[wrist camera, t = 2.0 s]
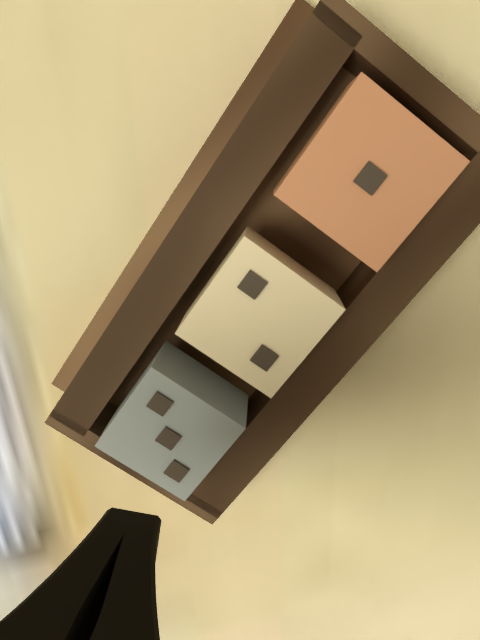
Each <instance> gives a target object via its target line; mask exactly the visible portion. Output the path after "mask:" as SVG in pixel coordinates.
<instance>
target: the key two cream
mask: <svg viewBox="0 0 480 640" xmlns="http://www.w3.org/2000/svg"><path fill="white" fill-rule="evenodd" d="M345 310H346V309H345V307H344V305H343V304H342V302H341V300H340V298H339V296H338V295H337V293H336V291H335V289H333V288H332V287H331V286H329V285H328V284H326V283H325V282H324V281H322V280H321V279H320V278H318V277H317V276H316V275H314V274H313V273H311V272H310V271H309V270H307V269H306V268H305V267H303V266H302V265H300V264H299V263H298V262H296V261H295V260H294V259H292V258H291V257H290V256H288V255H287V254H285V253H284V252H283V251H281V250H280V249H279V248H277V247H276V246H274V245H273V244H272V243H270V242H269V241H268V240H266V239H265V238H264V237H262V236H261V235H259V234H258V233H257V232H255V231H254V230H253V229H251V228H250V227H248V226H247V227H246V229H245V230H244V231H243V233H242V234H241V236H240V237H239V239H238V240H237V241H236V243H235V244H234V246H233V247H232V248H231V250H230V251H229V253H228V254H227V255H226V257H225V258H224V260H223V261H222V262H221V264H220V265H219V267H218V268H217V270H216V271H215V272H214V274H213V275H212V277H211V278H210V279H209V281H208V282H207V284H206V285H205V286H204V288H203V289H202V291H201V292H200V293H199V295H198V296H197V298H196V299H195V300H194V302H193V303H192V305H191V306H190V308H189V309H188V310H187V312H186V314H185V316H184V317H183V319H182V321H181V323H180V325H179V327H178V329H177V330H176V332H175V334H176V335H177V336H179V337H180V338H182V339H183V340H185V341H186V342H188V343H189V344H190V345H192V346H193V347H195V348H196V349H198V350H199V351H201V352H202V353H204V354H205V355H207V356H208V357H210V358H211V359H213V360H214V361H216V362H217V363H219V364H220V365H222V366H223V367H225V368H226V369H228V370H229V371H231V372H232V373H234V374H235V375H237V376H238V377H240V378H241V379H243V380H244V381H246V382H247V383H249V384H250V385H252V386H253V387H255V388H256V389H258V390H259V391H261V392H262V393H264V394H265V395H267V396H268V397H270V398H272V397H273V396H274V394H275V393H276V392H277V391H278V390H279V389H280V387H281V386H282V385H283V384H284V383H285V381H286V380H287V379H288V378H289V377H290V375H291V374H292V373H293V372H294V371H295V369H296V368H297V367H298V366H299V365H300V364H301V362H302V361H303V360H304V359H305V358H306V356H307V355H308V354H309V353H310V352H311V350H312V349H313V348H314V347H315V346H316V344H317V343H318V342H319V341H320V340H321V339H322V337H323V336H324V335H325V334H326V333H327V331H328V330H329V329H330V328H331V327H332V325H333V324H334V323H335V322H336V321H337V319H338V318H339V317H340V316H341V315H342V314H343V312H344V311H345Z"/></svg>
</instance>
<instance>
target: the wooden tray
mask: <svg viewBox="0 0 480 640" xmlns="http://www.w3.org/2000/svg"><path fill="white" fill-rule="evenodd" d="M361 72H363V73H364V74H365V75H366V76H368V77H369V78H370V79H371V80H372V81H374V82H375V83H376V84H377V85H378V86H380V87H381V88H382V89H383V90H385V91H386V92H387V93H388V94H389V95H391V96H392V97H393V98H394V99H395V100H397V101H398V102H399V103H400V104H401V105H403V106H404V107H405V108H406V109H407V110H409V111H410V112H411V113H412V114H414V115H415V116H416V117H417V118H418V119H420V120H421V121H422V122H423V123H424V124H426V125H427V126H428V127H429V128H430V129H432V130H433V131H434V132H435V133H437V134H438V135H439V136H440V137H441V138H443V139H444V140H445V141H446V142H447V143H449V144H450V145H451V146H452V147H453V148H455V149H456V150H457V151H458V152H459V153H461V154H462V155H463V156H464V157H466V158H467V159H468V160H469V161H470V162H469V164H468V165H467V166H466V167H465V168H464V170H463V171H462V172H461V173H460V174H459V176H458V177H457V178H456V179H455V180H454V181H453V183H452V184H451V185H450V186H449V187H448V189H447V190H446V191H445V192H444V193H443V195H442V196H441V197H440V198H439V199H438V201H437V202H436V203H435V204H434V205H433V206H432V208H431V209H430V210H429V211H428V212H427V214H426V215H425V216H424V217H423V218H422V220H421V221H420V222H419V223H418V224H417V225H416V227H415V228H414V229H413V230H412V231H411V233H410V234H409V235H408V236H407V237H406V239H405V240H404V241H403V242H402V243H401V245H400V246H399V247H398V248H397V249H396V250H395V252H394V253H393V254H392V255H391V256H390V258H389V259H388V260H387V261H386V262H385V264H384V265H383V266H382V267H381V268H380V270H379V271H378V272H376V271H374V270H373V269H372V268H370V267H369V266H368V265H366V264H365V263H364V262H362V261H361V260H360V259H358V258H357V257H356V256H354V255H353V254H352V253H350V252H349V251H348V250H346V249H345V248H344V247H342V246H341V245H340V244H338V243H337V242H336V241H334V240H333V239H332V238H330V237H329V236H328V235H326V234H325V233H324V232H322V231H321V230H320V229H318V228H317V227H316V226H314V225H313V224H312V223H310V222H309V221H308V220H306V219H305V218H304V217H302V216H301V215H300V214H298V213H297V212H296V211H294V210H293V209H292V208H290V207H289V206H288V205H286V204H285V203H284V202H282V201H281V200H280V199H278V198H277V197H276V196H274V194H273V189H274V188H275V186H276V185H277V184H278V182H279V181H280V179H281V178H282V177H283V175H284V174H285V172H286V171H287V170H288V168H289V167H290V165H291V164H292V162H293V161H294V160H295V158H296V157H297V155H298V154H299V153H300V151H301V150H302V148H303V147H304V146H305V144H306V143H307V141H308V140H309V139H310V137H311V136H312V134H313V133H314V131H315V130H316V129H317V127H318V126H319V124H320V123H321V122H322V120H323V119H324V117H325V116H326V115H327V113H328V112H329V110H330V109H331V108H332V106H333V105H334V103H335V102H336V100H337V99H338V98H339V96H340V95H341V93H342V92H343V91H344V89H345V88H346V86H347V85H348V84H350V83H351V82H352V81H353V80H354V79H355V78H356V77H357V76H358V75H359V74H360V73H361ZM479 224H480V115H479V114H478V113H477V112H475V111H474V110H473V109H472V108H471V107H470V106H468V105H467V104H466V103H465V102H464V101H463V100H461V99H460V98H459V97H458V96H457V95H455V94H454V93H453V92H452V91H451V90H450V89H448V88H447V87H446V86H445V85H444V84H443V83H441V82H440V81H439V80H438V79H437V78H435V77H434V76H433V75H432V74H431V73H430V72H428V71H427V70H426V69H425V68H424V67H423V66H421V65H420V64H419V63H418V62H417V61H415V60H414V59H413V58H412V57H411V56H410V55H408V54H407V53H406V52H405V51H404V50H403V49H401V48H400V47H399V46H398V45H397V44H395V43H394V42H393V41H392V40H391V39H390V38H388V37H387V36H386V35H385V34H384V33H383V32H381V31H380V30H379V29H378V28H377V27H375V26H374V25H373V24H372V23H371V22H370V21H368V20H367V19H366V18H365V17H364V16H363V15H361V14H360V13H359V12H358V11H357V10H355V9H354V8H353V7H352V6H351V5H350V4H348V3H347V2H346V1H345V0H320V1H319V3H318V4H317V6H316V8H315V9H314V8H313V7H312V6H310V5H309V4H308V3H307V2H306V1H304V0H295V2H294V3H293V5H292V6H291V8H290V10H289V11H288V13H287V14H286V16H285V17H284V19H283V21H282V22H281V24H280V25H279V27H278V28H277V30H276V32H275V33H274V35H273V36H272V38H271V39H270V41H269V43H268V44H267V46H266V47H265V49H264V50H263V52H262V54H261V55H260V57H259V58H258V60H257V61H256V63H255V65H254V66H253V68H252V69H251V71H250V72H249V74H248V76H247V77H246V79H245V80H244V82H243V83H242V85H241V87H240V88H239V90H238V91H237V93H236V94H235V96H234V98H233V99H232V101H231V102H230V104H229V105H228V107H227V109H226V110H225V112H224V113H223V115H222V116H221V118H220V120H219V121H218V123H217V124H216V126H215V127H214V129H213V131H212V132H211V134H210V135H209V137H208V138H207V140H206V142H205V143H204V145H203V146H202V148H201V149H200V151H199V153H198V154H197V156H196V157H195V159H194V160H193V162H192V164H191V165H190V167H189V168H188V170H187V171H186V173H185V175H184V176H183V178H182V179H181V181H180V182H179V184H178V186H177V187H176V189H175V190H174V192H173V193H172V195H171V197H170V198H169V200H168V201H167V203H166V204H165V206H164V208H163V209H162V211H161V212H160V214H159V216H158V217H157V219H156V220H155V222H154V223H153V225H152V227H151V228H150V230H149V231H148V233H147V234H146V236H145V238H144V239H143V241H142V242H141V244H140V245H139V247H138V249H137V250H136V252H135V253H134V255H133V256H132V258H131V260H130V261H129V263H128V264H127V266H126V267H125V269H124V271H123V272H122V274H121V275H120V277H119V278H118V280H117V282H116V283H115V285H114V286H113V288H112V289H111V291H110V293H109V294H108V296H107V297H106V299H105V300H104V302H103V304H102V305H101V307H100V308H99V310H98V311H97V313H96V315H95V316H94V318H93V319H92V321H91V322H90V324H89V326H88V327H87V329H86V330H85V332H84V333H83V335H82V337H81V338H80V340H79V341H78V343H77V344H76V346H75V348H74V349H73V351H72V352H71V354H70V355H69V357H68V359H67V360H66V362H65V363H64V365H63V366H62V368H61V370H60V371H59V373H58V374H57V376H56V377H55V379H54V381H53V382H52V384H53V385H54V386H56V387H58V388H59V389H61V390H62V391H64V394H63V395H62V397H61V398H60V400H59V401H58V403H57V405H56V406H55V408H54V409H53V411H52V412H51V414H50V415H49V417H48V418H47V420H46V421H45V423H46V424H47V425H49V426H51V427H52V428H54V429H56V430H57V431H59V432H61V433H62V434H64V435H66V436H67V437H69V438H70V439H72V440H74V441H75V442H77V443H79V444H80V445H82V446H84V447H85V448H87V449H89V450H90V451H92V452H94V453H95V454H97V455H98V456H100V457H102V458H103V459H105V460H107V461H108V462H110V463H112V464H113V465H115V466H117V467H118V468H120V469H122V470H123V471H125V472H127V473H128V474H130V475H131V476H133V477H135V478H136V479H138V480H140V481H141V482H143V483H145V484H146V485H148V486H150V487H151V488H153V489H155V490H156V491H158V492H160V493H161V494H163V495H164V496H166V497H168V498H169V499H171V500H173V501H174V502H176V503H178V504H179V505H181V506H183V507H184V508H186V509H188V510H189V511H191V512H192V513H194V514H196V515H197V516H199V517H201V518H202V519H204V520H206V521H207V522H209V523H211V524H213V523H214V522H215V521H216V520H217V519H218V518H219V516H220V515H221V514H222V513H223V512H224V511H225V510H226V509H227V507H228V506H229V505H230V504H231V503H232V502H233V501H234V499H235V498H236V497H237V496H238V495H239V494H240V493H241V492H242V490H243V489H244V488H245V487H246V486H247V485H248V484H249V483H250V481H251V480H252V479H253V478H254V477H255V476H256V475H257V474H258V472H259V471H260V470H261V469H262V468H263V467H264V466H265V465H266V463H267V462H268V461H269V460H270V459H271V458H272V457H273V456H274V454H275V453H276V452H277V451H278V450H279V449H280V448H281V447H282V445H283V444H284V443H285V442H286V441H287V440H288V439H289V438H290V436H291V435H292V434H293V433H294V432H295V431H296V430H297V429H298V427H299V426H300V425H301V424H302V423H303V422H304V421H305V420H306V418H307V417H308V416H309V415H310V414H311V413H312V412H313V411H314V409H315V408H316V407H317V406H318V405H319V404H320V403H321V401H322V400H323V399H324V398H325V397H326V396H327V395H328V394H329V392H330V391H331V390H332V389H333V388H334V387H335V386H336V385H337V383H338V382H339V381H340V380H341V379H342V378H343V377H344V376H345V374H346V373H347V372H348V371H349V370H350V369H351V368H352V367H353V365H354V364H355V363H356V362H357V361H358V360H359V359H360V358H361V356H362V355H363V354H364V353H365V352H366V351H367V350H368V349H369V347H370V346H371V345H372V344H373V343H374V342H375V341H376V340H377V338H378V337H379V336H380V335H381V334H382V333H383V332H384V331H385V329H386V328H387V327H388V326H389V325H390V324H391V323H392V322H393V320H394V319H395V318H396V317H397V316H398V315H399V314H400V313H401V311H402V310H403V309H404V308H405V307H406V306H407V305H408V303H409V302H410V301H411V300H412V299H413V298H414V297H415V296H416V294H417V293H418V292H419V291H420V290H421V289H422V288H423V287H424V285H425V284H426V283H427V282H428V281H429V280H430V279H431V278H432V276H433V275H434V274H435V273H436V272H437V271H438V270H439V269H440V267H441V266H442V265H443V264H444V263H445V262H446V261H447V260H448V258H449V257H450V256H451V255H452V254H453V253H454V252H455V251H456V249H457V248H458V247H459V246H460V245H461V244H462V243H463V242H464V240H465V239H466V238H467V237H468V236H469V235H470V234H471V233H472V231H473V230H474V229H475V228H476V227H477V226H478V225H479ZM247 226H248V227H250V228H251V229H253V230H254V231H255V232H257V233H258V234H259V235H261V236H262V237H264V238H265V239H266V240H268V241H269V242H270V243H272V244H273V245H274V246H276V247H277V248H279V249H280V250H281V251H283V252H284V253H285V254H287V255H288V256H290V257H291V258H292V259H294V260H295V261H296V262H298V263H299V264H300V265H302V266H303V267H305V268H306V269H307V270H309V271H310V272H311V273H313V274H314V275H316V276H317V277H318V278H320V279H321V280H322V281H324V282H325V283H326V284H328V285H329V286H331V287H332V288H333V289H335V291H336V293H337V295H338V296H339V298H340V300H341V302H342V304H343V305H344V307H345V309H346V310H345V311H344V312H343V314H342V315H341V316H340V317H339V318H338V319H337V321H336V322H335V323H334V324H333V325H332V327H331V328H330V329H329V330H328V331H327V333H326V334H325V335H324V336H323V337H322V339H321V340H320V341H319V342H318V343H317V344H316V346H315V347H314V348H313V349H312V350H311V352H310V353H309V354H308V355H307V356H306V358H305V359H304V360H303V361H302V362H301V364H300V365H299V366H298V367H297V368H296V369H295V371H294V372H293V373H292V374H291V375H290V377H289V378H288V379H287V380H286V381H285V383H284V384H283V385H282V386H281V387H280V389H279V390H278V391H277V392H276V393H275V394H274V396H273V397H272V398H270V397H268V396H267V395H265V394H264V393H262V392H261V391H259V390H258V389H256V388H255V387H253V386H252V385H250V384H249V383H247V382H246V381H244V380H243V379H241V378H240V377H238V376H237V375H235V374H234V373H232V372H231V371H229V370H228V369H226V368H225V367H223V366H222V365H220V364H219V363H217V362H216V361H214V360H213V359H211V358H210V357H208V356H207V355H205V354H204V353H202V352H201V351H199V350H198V349H196V348H195V347H193V346H192V345H190V344H189V343H188V342H186V341H185V340H183V339H182V338H180V337H179V336H177V335H176V334H175V332H176V330H177V329H178V327H179V325H180V323H181V321H182V319H183V317H184V316H185V314H186V312H187V310H188V309H189V308H190V306H191V305H192V303H193V302H194V300H195V299H196V298H197V296H198V295H199V293H200V292H201V291H202V289H203V288H204V286H205V285H206V284H207V282H208V281H209V279H210V278H211V277H212V275H213V274H214V272H215V271H216V270H217V268H218V267H219V265H220V264H221V262H222V261H223V260H224V258H225V257H226V255H227V254H228V253H229V251H230V250H231V248H232V247H233V246H234V244H235V243H236V241H237V240H238V239H239V237H240V236H241V234H242V233H243V231H244V230H245V229H246V227H247ZM165 341H168V342H169V343H171V344H172V345H174V346H175V347H177V348H178V349H180V350H181V351H183V352H184V353H186V354H187V355H189V356H190V357H192V358H193V359H195V360H196V361H198V362H199V363H201V364H202V365H204V366H205V367H207V368H208V369H210V370H211V371H213V372H214V373H216V374H217V375H219V376H220V377H222V378H223V379H225V380H226V381H228V382H229V383H231V384H232V385H234V386H235V387H237V388H238V389H240V390H241V391H243V392H244V393H246V394H247V395H248V407H247V420H246V429H245V430H244V431H243V433H242V434H241V435H240V436H239V437H238V438H237V440H236V441H235V442H234V443H233V444H232V446H231V447H230V448H229V449H228V450H227V452H226V453H225V454H224V455H223V456H222V458H221V459H220V460H219V461H218V462H217V463H216V465H215V466H214V467H213V468H212V469H211V471H210V472H209V473H208V474H207V475H206V477H205V478H204V479H203V480H202V481H201V483H200V484H199V485H198V486H197V487H196V488H195V490H194V491H193V492H192V493H191V494H190V496H189V497H188V498H187V499H186V500H185V501H183V500H182V499H180V498H178V497H177V496H175V495H173V494H172V493H170V492H168V491H167V490H165V489H164V488H162V487H160V486H159V485H157V484H155V483H154V482H152V481H150V480H149V479H147V478H145V477H144V476H142V475H141V474H139V473H137V472H136V471H134V470H132V469H131V468H129V467H127V466H126V465H124V464H122V463H121V462H119V461H118V460H116V459H114V458H113V457H111V456H109V455H108V454H106V453H104V452H103V451H101V450H99V449H98V448H96V447H95V444H96V443H97V441H98V440H99V438H100V436H101V435H102V433H103V431H104V430H105V428H106V426H107V425H108V423H109V422H110V420H111V418H112V417H113V415H114V413H115V412H116V410H117V409H118V408H119V406H120V405H121V403H122V402H123V401H124V399H125V398H126V396H127V395H128V393H129V392H130V391H131V389H132V388H133V386H134V385H135V384H136V382H137V381H138V379H139V378H140V377H141V375H142V374H143V372H144V371H145V370H146V368H147V367H148V365H149V364H150V362H151V361H152V360H153V358H154V357H155V355H156V354H157V353H158V351H159V350H160V348H161V347H162V346H163V344H164V343H165Z"/></svg>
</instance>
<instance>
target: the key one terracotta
mask: <svg viewBox="0 0 480 640" xmlns="http://www.w3.org/2000/svg"><path fill="white" fill-rule="evenodd" d="M469 162H470V161H469V160H468V159H467V158H466V157H464V156H463V155H462V154H461V153H459V152H458V151H457V150H456V149H455V148H453V147H452V146H451V145H450V144H449V143H447V142H446V141H445V140H444V139H443V138H441V137H440V136H439V135H438V134H437V133H435V132H434V131H433V130H432V129H430V128H429V127H428V126H427V125H426V124H424V123H423V122H422V121H421V120H420V119H418V118H417V117H416V116H415V115H414V114H412V113H411V112H410V111H409V110H407V109H406V108H405V107H404V106H403V105H401V104H400V103H399V102H398V101H397V100H395V99H394V98H393V97H392V96H391V95H389V94H388V93H387V92H386V91H385V90H383V89H382V88H381V87H380V86H378V85H377V84H376V83H375V82H374V81H372V80H371V79H370V78H369V77H368V76H366V75H365V74H364V73H363V72H361V73H360V74H359V75H358V76H357V77H356V78H355V79H354V80H353V81H352V82H351V83H350V84H348V85H347V86H346V88H345V89H344V91H343V92H342V93H341V95H340V96H339V98H338V99H337V100H336V102H335V103H334V105H333V106H332V108H331V109H330V110H329V112H328V113H327V115H326V116H325V117H324V119H323V120H322V122H321V123H320V124H319V126H318V127H317V129H316V130H315V131H314V133H313V134H312V136H311V137H310V139H309V140H308V141H307V143H306V144H305V146H304V147H303V148H302V150H301V151H300V153H299V154H298V155H297V157H296V158H295V160H294V161H293V162H292V164H291V165H290V167H289V168H288V170H287V171H286V172H285V174H284V175H283V177H282V178H281V179H280V181H279V182H278V184H277V185H276V186H275V188H274V189H273V194H274V196H276V197H277V198H278V199H280V200H281V201H282V202H284V203H285V204H286V205H288V206H289V207H290V208H292V209H293V210H294V211H296V212H297V213H298V214H300V215H301V216H302V217H304V218H305V219H306V220H308V221H309V222H310V223H312V224H313V225H314V226H316V227H317V228H318V229H320V230H321V231H322V232H324V233H325V234H326V235H328V236H329V237H330V238H332V239H333V240H334V241H336V242H337V243H338V244H340V245H341V246H342V247H344V248H345V249H346V250H348V251H349V252H350V253H352V254H353V255H354V256H356V257H357V258H358V259H360V260H361V261H362V262H364V263H365V264H366V265H368V266H369V267H370V268H372V269H373V270H374V271H376V272H378V271H379V270H380V268H381V267H382V266H383V265H384V264H385V262H386V261H387V260H388V259H389V258H390V256H391V255H392V254H393V253H394V252H395V250H396V249H397V248H398V247H399V246H400V245H401V243H402V242H403V241H404V240H405V239H406V237H407V236H408V235H409V234H410V233H411V231H412V230H413V229H414V228H415V227H416V225H417V224H418V223H419V222H420V221H421V220H422V218H423V217H424V216H425V215H426V214H427V212H428V211H429V210H430V209H431V208H432V206H433V205H434V204H435V203H436V202H437V201H438V199H439V198H440V197H441V196H442V195H443V193H444V192H445V191H446V190H447V189H448V187H449V186H450V185H451V184H452V183H453V181H454V180H455V179H456V178H457V177H458V176H459V174H460V173H461V172H462V171H463V170H464V168H465V167H466V166H467V165H468V164H469Z"/></svg>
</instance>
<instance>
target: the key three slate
mask: <svg viewBox="0 0 480 640" xmlns="http://www.w3.org/2000/svg"><path fill="white" fill-rule="evenodd" d="M247 407H248V395H247V394H246V393H244V392H243V391H241V390H240V389H238V388H237V387H235V386H234V385H232V384H231V383H229V382H228V381H226V380H225V379H223V378H222V377H220V376H219V375H217V374H216V373H214V372H213V371H211V370H210V369H208V368H207V367H205V366H204V365H202V364H201V363H199V362H198V361H196V360H195V359H193V358H192V357H190V356H189V355H187V354H186V353H184V352H183V351H181V350H180V349H178V348H177V347H175V346H174V345H172V344H171V343H169V342H168V341H165V343H164V344H163V346H162V347H161V348H160V350H159V351H158V353H157V354H156V355H155V357H154V358H153V360H152V361H151V362H150V364H149V365H148V367H147V368H146V370H145V371H144V372H143V374H142V375H141V377H140V378H139V379H138V381H137V382H136V384H135V385H134V386H133V388H132V389H131V391H130V392H129V393H128V395H127V396H126V398H125V399H124V401H123V402H122V403H121V405H120V406H119V408H118V409H117V410H116V412H115V413H114V415H113V417H112V418H111V420H110V422H109V423H108V425H107V426H106V428H105V430H104V431H103V433H102V435H101V436H100V438H99V440H98V441H97V443H96V444H95V447H96V448H98V449H99V450H101V451H103V452H104V453H106V454H108V455H109V456H111V457H113V458H114V459H116V460H118V461H119V462H121V463H122V464H124V465H126V466H127V467H129V468H131V469H132V470H134V471H136V472H137V473H139V474H141V475H142V476H144V477H145V478H147V479H149V480H150V481H152V482H154V483H155V484H157V485H159V486H160V487H162V488H164V489H165V490H167V491H168V492H170V493H172V494H173V495H175V496H177V497H178V498H180V499H182V500H183V501H185V500H186V499H187V498H188V497H189V496H190V494H191V493H192V492H193V491H194V490H195V488H196V487H197V486H198V485H199V484H200V483H201V481H202V480H203V479H204V478H205V477H206V475H207V474H208V473H209V472H210V471H211V469H212V468H213V467H214V466H215V465H216V463H217V462H218V461H219V460H220V459H221V458H222V456H223V455H224V454H225V453H226V452H227V450H228V449H229V448H230V447H231V446H232V444H233V443H234V442H235V441H236V440H237V438H238V437H239V436H240V435H241V434H242V433H243V431H244V430H245V429H246V420H247Z"/></svg>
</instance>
